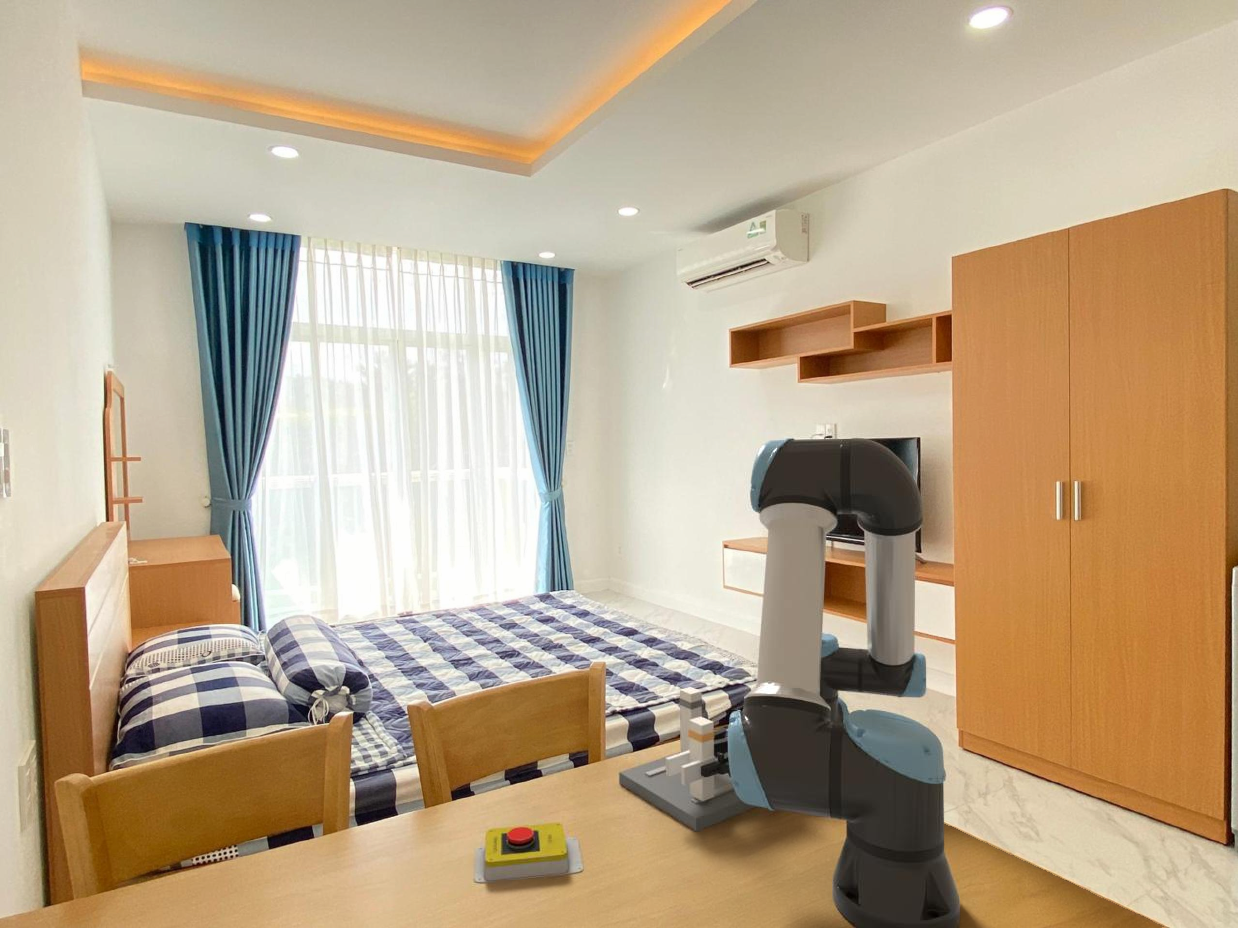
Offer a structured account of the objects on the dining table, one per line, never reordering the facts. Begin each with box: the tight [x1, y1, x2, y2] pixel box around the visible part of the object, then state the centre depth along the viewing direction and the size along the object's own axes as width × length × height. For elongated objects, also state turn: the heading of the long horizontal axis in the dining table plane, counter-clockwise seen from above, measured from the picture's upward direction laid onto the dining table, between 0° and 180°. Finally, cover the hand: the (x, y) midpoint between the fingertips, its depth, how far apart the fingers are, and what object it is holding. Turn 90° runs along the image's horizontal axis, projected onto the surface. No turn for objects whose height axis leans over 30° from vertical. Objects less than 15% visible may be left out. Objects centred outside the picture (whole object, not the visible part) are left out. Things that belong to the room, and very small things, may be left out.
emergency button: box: [473, 822, 584, 884], centre depth 107 cm, size 9×4×15 cm
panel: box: [618, 751, 757, 832], centre depth 127 cm, size 18×20×2 cm
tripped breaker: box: [689, 716, 715, 801], centre depth 120 cm, size 3×3×12 cm
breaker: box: [679, 686, 703, 753], centre depth 134 cm, size 3×3×12 cm
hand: (675, 771), depth 117 cm, fingers closed on tripped breaker, 3 cm apart
